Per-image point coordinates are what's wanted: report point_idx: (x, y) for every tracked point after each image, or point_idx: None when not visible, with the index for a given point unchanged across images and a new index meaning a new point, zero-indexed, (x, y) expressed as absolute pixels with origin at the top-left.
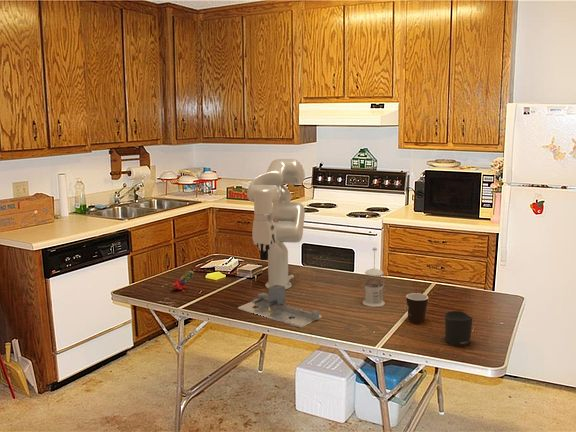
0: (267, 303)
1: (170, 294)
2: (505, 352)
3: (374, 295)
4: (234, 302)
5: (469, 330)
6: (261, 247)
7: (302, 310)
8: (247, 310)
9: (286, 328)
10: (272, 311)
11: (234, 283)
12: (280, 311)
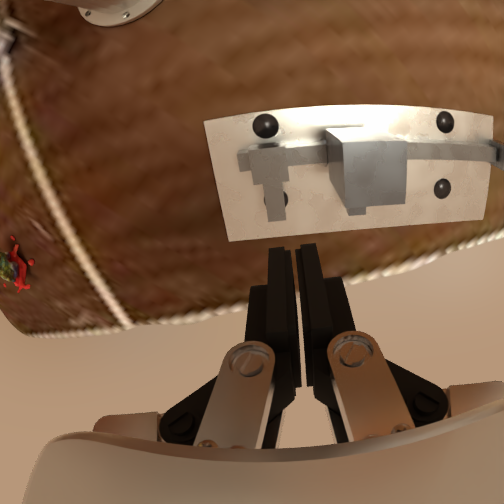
0: (352, 211)
1: (40, 286)
2: None
3: None
4: (164, 208)
5: None
6: (278, 424)
7: (464, 152)
8: (276, 235)
9: (454, 242)
10: None
11: (19, 108)
12: None
